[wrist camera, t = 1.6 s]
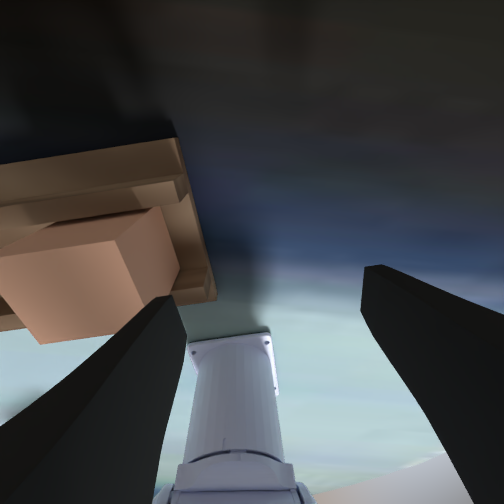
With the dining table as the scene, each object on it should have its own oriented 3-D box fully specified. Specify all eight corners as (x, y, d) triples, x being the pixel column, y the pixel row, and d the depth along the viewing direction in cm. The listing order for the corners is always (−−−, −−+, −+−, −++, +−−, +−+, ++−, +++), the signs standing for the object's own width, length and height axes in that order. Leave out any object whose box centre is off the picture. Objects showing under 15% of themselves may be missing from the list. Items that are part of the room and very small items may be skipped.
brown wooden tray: (217, 293, 20) (211, 339, 15) (-33, 329, 20) (-110, 384, 16) (178, 137, 14) (150, 139, 10) (-164, 191, 15) (-338, 215, 10)
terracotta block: (180, 268, 17) (154, 328, 12) (101, 279, 17) (39, 344, 12) (158, 202, 15) (114, 240, 10) (67, 216, 15) (-26, 261, 10)
